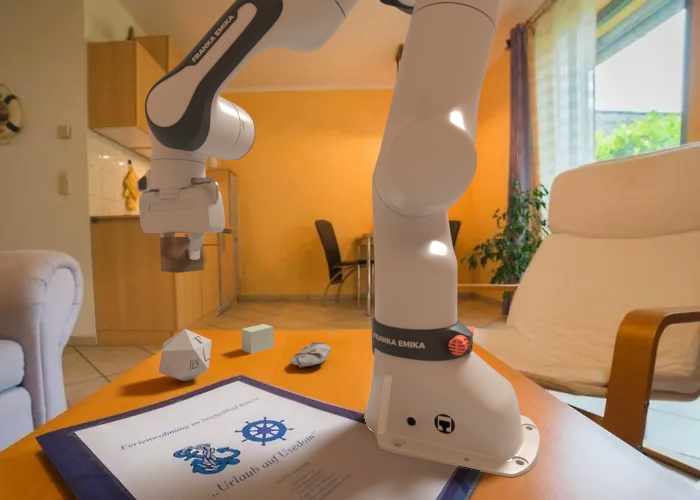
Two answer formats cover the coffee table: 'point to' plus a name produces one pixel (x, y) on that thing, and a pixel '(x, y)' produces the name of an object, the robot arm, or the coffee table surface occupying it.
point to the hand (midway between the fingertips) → (182, 258)
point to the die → (185, 356)
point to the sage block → (257, 338)
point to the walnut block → (178, 255)
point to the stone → (311, 354)
